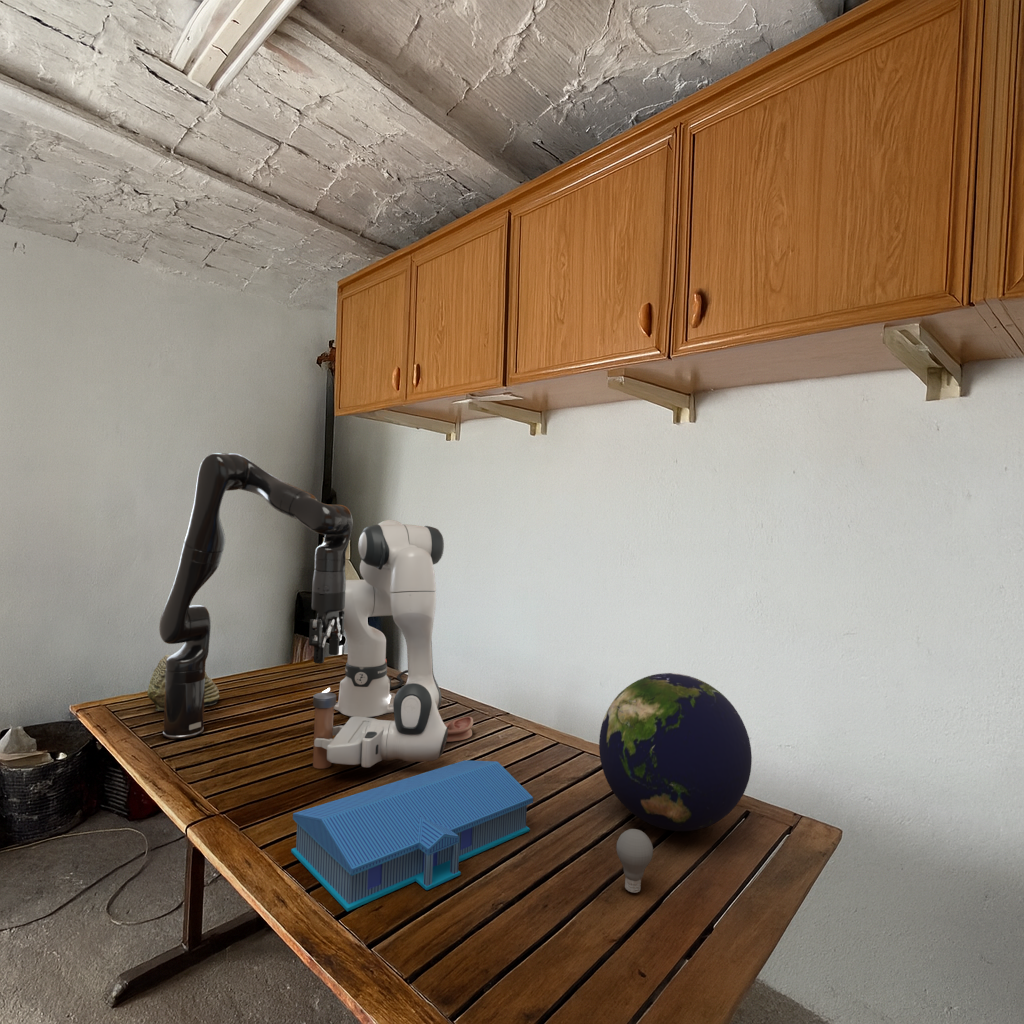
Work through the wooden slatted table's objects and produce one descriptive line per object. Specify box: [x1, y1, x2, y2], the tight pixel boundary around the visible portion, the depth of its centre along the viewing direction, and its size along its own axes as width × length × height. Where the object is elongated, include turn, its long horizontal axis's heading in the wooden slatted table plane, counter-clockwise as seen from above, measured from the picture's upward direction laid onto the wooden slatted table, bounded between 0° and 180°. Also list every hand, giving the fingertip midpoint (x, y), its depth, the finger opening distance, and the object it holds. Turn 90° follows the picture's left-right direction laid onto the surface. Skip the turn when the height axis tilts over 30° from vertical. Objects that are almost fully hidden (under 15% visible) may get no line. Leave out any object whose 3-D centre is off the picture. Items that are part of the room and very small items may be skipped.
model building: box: [290, 759, 534, 912], centre depth 117 cm, size 39×24×10 cm, turn 132°
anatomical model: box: [444, 715, 474, 743], centre depth 171 cm, size 13×4×12 cm
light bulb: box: [615, 828, 654, 894], centre depth 106 cm, size 6×6×10 cm
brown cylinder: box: [312, 707, 335, 770], centre depth 149 cm, size 4×4×16 cm
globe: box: [598, 672, 753, 832], centre depth 129 cm, size 30×30×30 cm
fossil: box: [147, 654, 221, 712], centre depth 185 cm, size 9×18×15 cm, turn 132°
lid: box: [312, 691, 337, 708], centre depth 149 cm, size 5×5×2 cm
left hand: (326, 658), depth 149 cm, fingers open, 7 cm apart
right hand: (319, 736), depth 149 cm, fingers open, 5 cm apart
